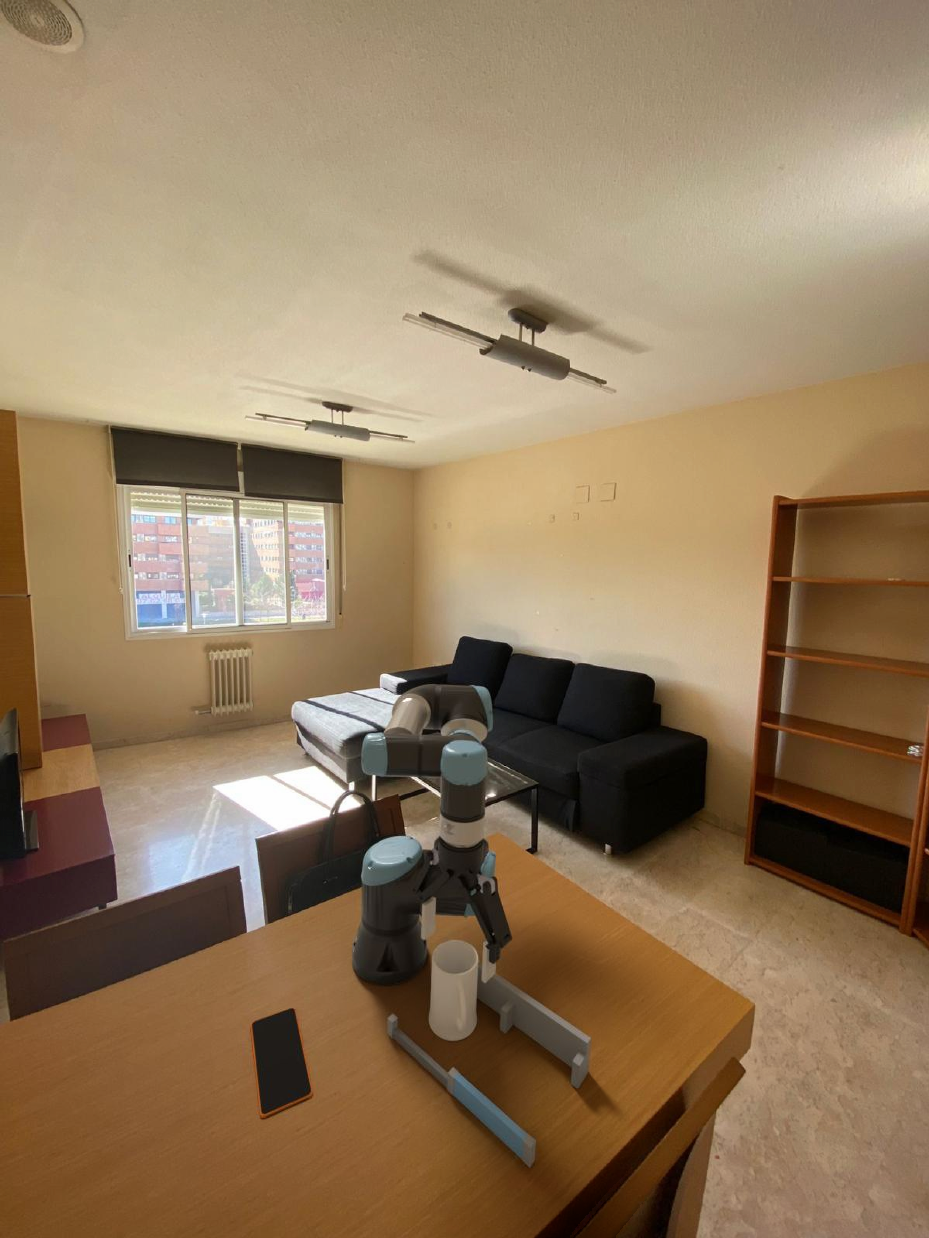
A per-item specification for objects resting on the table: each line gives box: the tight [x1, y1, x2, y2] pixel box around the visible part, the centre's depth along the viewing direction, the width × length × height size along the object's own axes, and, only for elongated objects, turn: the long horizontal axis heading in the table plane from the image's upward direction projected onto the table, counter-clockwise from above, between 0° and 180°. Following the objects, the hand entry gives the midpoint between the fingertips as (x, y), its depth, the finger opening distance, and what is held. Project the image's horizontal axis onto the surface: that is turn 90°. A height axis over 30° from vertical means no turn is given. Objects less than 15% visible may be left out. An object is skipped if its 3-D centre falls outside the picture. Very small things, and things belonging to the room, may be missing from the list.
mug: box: [428, 939, 479, 1042], centre depth 87 cm, size 12×8×12 cm
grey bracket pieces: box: [386, 960, 592, 1168], centre depth 83 cm, size 29×17×6 cm, turn 50°
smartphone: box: [249, 1006, 314, 1119], centre depth 81 cm, size 8×17×1 cm, turn 28°
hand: (456, 955), depth 86 cm, fingers open, 13 cm apart
